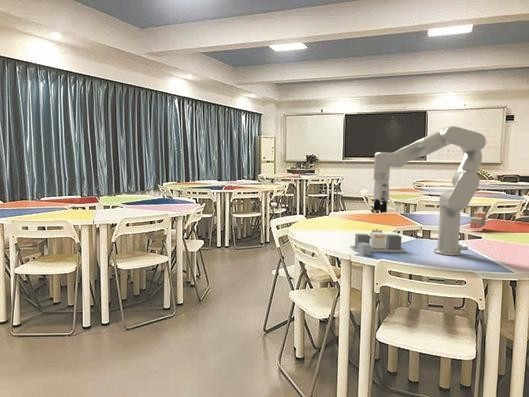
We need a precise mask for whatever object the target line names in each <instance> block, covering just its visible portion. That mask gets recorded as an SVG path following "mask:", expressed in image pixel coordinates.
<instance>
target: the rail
mask: <svg viewBox="0 0 529 397" xmlns="http://www.w3.org/2000/svg"><path fill="white" fill-rule="evenodd" d="M354 235H355V238H354V239H355V240H354V245H350V246H349V248H350V249H351V250H352V249H353V250H352V251H354V252H357V248H358V243H367V244H370V243H371V239H370V234H368V233H355V234H354ZM371 252H374V253H376V252H377V253H378V252H379V253H381V252H382V253H406V252H407V249H405V248H404V247H403V246H402V236H401V235H400V234H395V233H394V234H393V233H392V234H391V233H388V234H386V242H385V248H373V247H371Z"/></svg>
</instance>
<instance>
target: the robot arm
mask: <svg viewBox="0 0 529 397" xmlns="http://www.w3.org/2000/svg"><path fill="white" fill-rule="evenodd" d="M450 145H454V146H456V147H460V149H461V151H462V154H463V155H462V156H463V157H462V159H461V162H460V164H459V165H458V168H457V169H456V171H455V173H454V174H453V177H451V178H452V179H451V184H452V186H453V187H454V188H453V189H446V190H445V191H443V192H442V193H441V194H440V196H439V221H438V222H439V223H438V232H437V234H438V236H437V237H438V238H437V248H434V249H433V252H434V253H436V254H438V255H443V256H444V255H445V256H454V255H456V256H461V255H462V251H468V250H469V247H468V245H467V246H464V245H461V244H459V242H460V241H459V240H460V230H461V229H460V228H461V227H460V226H461V211H463V210H465V209H466V208H467V206H469V204H470V202H471V201H472V199H473V198H474V196H475V194H476V192H477V190H478V188H479V185H480V177H479V174H478V171H479V169H480V167H481V165H482V163H483V162H482V161H483V153H482V150H483V149H485V147H486V145H487V139H486V136H484V135H483V134H482V133H480V132H477V131H473V130H470V129H467V128H464V127H463V128H462V127H459V126H455V125H451V126H447V127H443V128H441V129H439V130H437V131H434V133H431V134H429V135H426V136H424V137H422V138H420V139H417V140H416V141H415V142H413V143H411V144H409V145H406V146H403V147H402V148H399V149H398V150H396V151H394V152H387V151H386V152H385V151H378V152H375V154H374V162H373V164H374V165H373V180H374V187H373V211H379V212H380V213H387V212H388V211H387V209H388V201H389V200H390V182H389V181H390V169H391V167H392V168H402V167H405V166H406V164H407V163H408V162H410V161H412V160H415V159H418V158H421V157H425V156H428V155H430V154H433V153H435V152H437V151H440V150H441V149H443V148H445V147H447V146H450ZM454 257H455V256H454Z"/></svg>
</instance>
